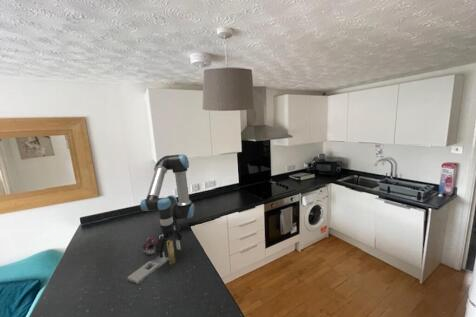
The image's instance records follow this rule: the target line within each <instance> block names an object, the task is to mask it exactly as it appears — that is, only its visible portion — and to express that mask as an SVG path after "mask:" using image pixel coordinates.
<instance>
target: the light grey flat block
mask: <svg viewBox="0 0 476 317" xmlns="http://www.w3.org/2000/svg"><path fill="white" fill-rule="evenodd" d="M150 264H151V265H154V266H151V268H149V269H148V268H147V269H145V268H146V267H147V266H149V265H150ZM159 266H160V264H158V263H155V262H152V260H148V261H147V262H146V263H145V264H143V265H142V266H140V267H139V268H138V269H137V270H135V271H134V272H132V273H131V274H130V275H128V276H127V277H126V279H127V281H129V282H131V283H133V284H135V285H140V284H141V283H142V282H143V281H144V280H146V279H147V278H149V277H150V275H149V274H150V273H151V272H152V271H154V270H155V269H156V268H157V267H159ZM149 267H150V266H149ZM159 268H160V267H159ZM154 272H155V271H154Z"/></svg>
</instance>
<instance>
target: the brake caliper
mask: <svg viewBox="0 0 476 317" xmlns="http://www.w3.org/2000/svg"><path fill="white" fill-rule="evenodd" d="M157 243H158V240H156V239H154V238H152V237H147V238H146V241H145V242H144V244H143V245H142V248H143V253H146V255H147V256H153V255H155V254H157V253H156V248H157Z"/></svg>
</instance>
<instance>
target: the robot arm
mask: <svg viewBox="0 0 476 317" xmlns="http://www.w3.org/2000/svg"><path fill="white" fill-rule="evenodd" d="M189 168H190V162H189V158H188V156H187V155H186V154H171V155H165V156H163V157H161V158H160V159H159V160H158V161H157V162H156V164H155V165H154V168H153V171H154V174H153V176H152V180H151V182H150V186H149V189H148V192H147V196H146V198H143V199H142V200H141V201H140V209H141V211H144V212H147V211H148V212H149V211H157V210H158V215H159V222H160V223H159V224H160V230H161V233H162V234H160V235H158V236H157V242H158V243H157V248H156V253H155V254H158V256H159V255H160V258H161V261H162V262H165V257H166V255H165V251H164V249H165V247H166V245H167V242H166V241H167V240H169V239H171V238H172V237H173V238H174V239H175V246H176V250H181V249H182V248H181V241H182V238H183V235H182V234H181V232H180V231H181V225H180V223H179V220H185V219H191V218H193V216H194V212H195V203H193V202H192V200H190V197H189V196H190V195H189V187H188V181H187V180H188V179H187V171H188V169H189ZM168 171H172V173H173V174H174V177H175V183H176V185H175V186H176V191H177V197H176V196H175V195H174V194H173V195H172V194H170V195H169V196H167V197H160V195H161V194H160V193H161V190H162V186H163V182H164V179H165V175H166V174H168ZM165 263H166V262H165Z"/></svg>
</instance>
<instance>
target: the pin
mask: <svg viewBox="0 0 476 317" xmlns="http://www.w3.org/2000/svg"><path fill="white" fill-rule="evenodd" d="M173 241H174V240H173V239H171V238H169V239H168V240H167V241H166V246H167V254H168V255H167V256H168V258H169V260H168V261H169V264H170V265H174V264H175V263H176V257H175V255H176V254H175V248H174V242H173Z"/></svg>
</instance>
